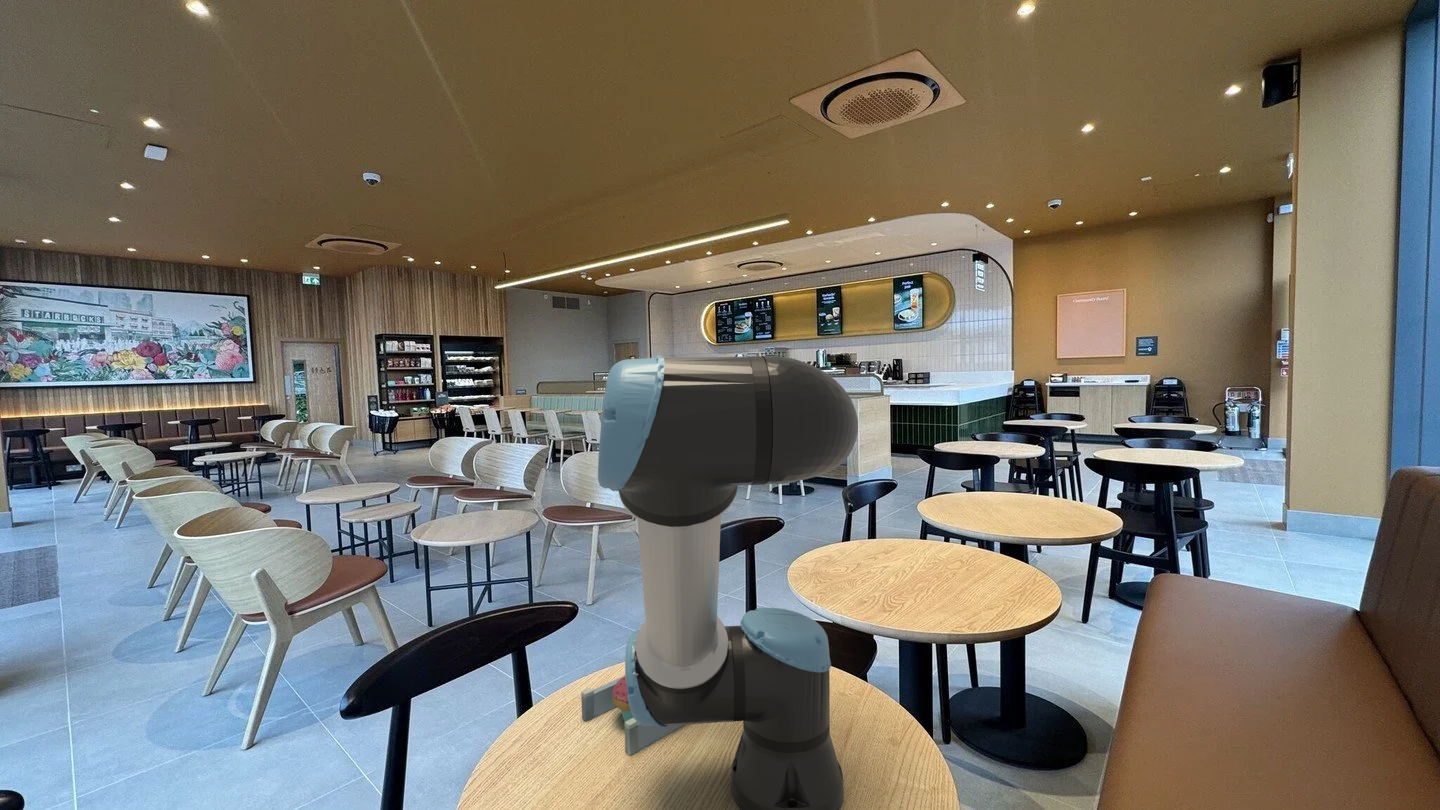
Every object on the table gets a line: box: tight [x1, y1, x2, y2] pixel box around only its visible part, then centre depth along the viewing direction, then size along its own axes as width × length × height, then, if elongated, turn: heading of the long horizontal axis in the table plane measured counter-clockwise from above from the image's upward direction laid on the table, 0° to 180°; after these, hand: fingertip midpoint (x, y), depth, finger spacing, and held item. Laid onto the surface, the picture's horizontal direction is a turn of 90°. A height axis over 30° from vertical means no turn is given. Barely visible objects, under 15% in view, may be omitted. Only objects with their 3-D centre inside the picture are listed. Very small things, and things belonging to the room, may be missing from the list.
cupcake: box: [612, 676, 634, 723], centre depth 95 cm, size 9×8×12 cm
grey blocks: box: [580, 675, 684, 756], centre depth 96 cm, size 13×14×5 cm
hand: (685, 639), depth 103 cm, fingers closed
